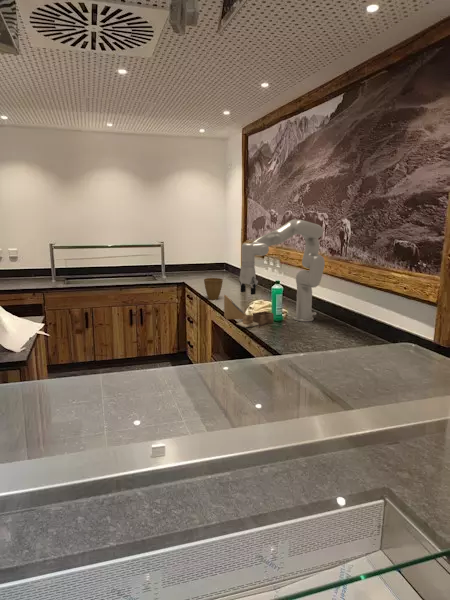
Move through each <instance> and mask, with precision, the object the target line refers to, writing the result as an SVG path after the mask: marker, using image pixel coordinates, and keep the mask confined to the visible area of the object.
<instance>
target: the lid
mask: <svg viewBox="0 0 450 600" xmlns="http://www.w3.org/2000/svg"><path fill="white" fill-rule="evenodd" d="M235 324H236V325H238V326H239V327H242V328H250V327H256V326H260V325H259V323H257V322H253V314H246V315H245V316H243V319H242V321H239V322H236V323H235Z"/></svg>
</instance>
